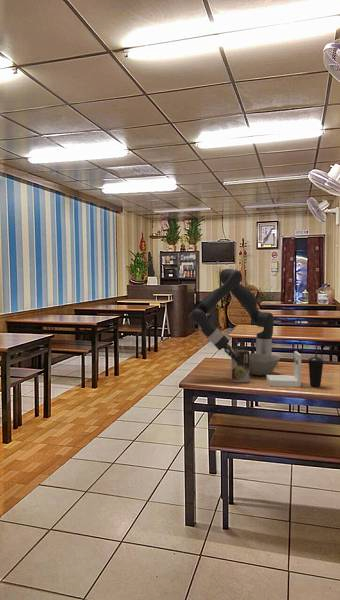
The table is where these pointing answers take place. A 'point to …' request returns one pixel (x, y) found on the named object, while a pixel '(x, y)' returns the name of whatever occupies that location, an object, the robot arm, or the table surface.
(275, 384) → the white l-shaped bookend
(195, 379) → the table surface
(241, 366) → the coffee box
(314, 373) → the drinking cup
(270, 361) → the ceramic bowl
